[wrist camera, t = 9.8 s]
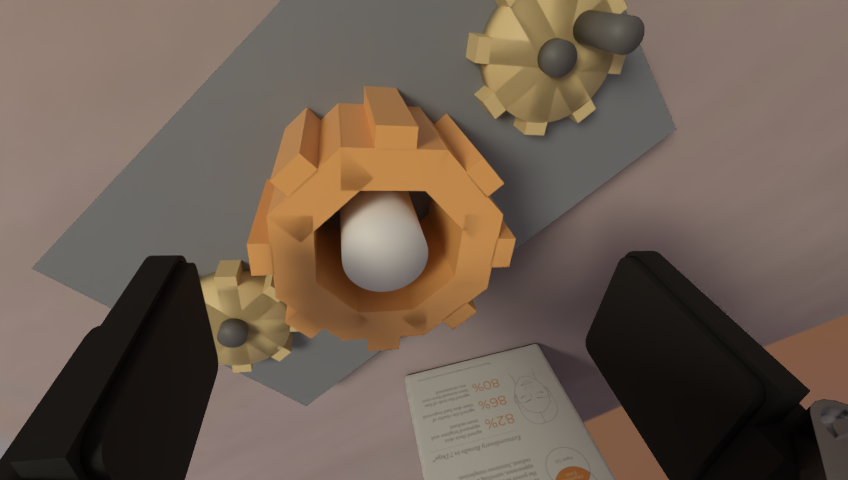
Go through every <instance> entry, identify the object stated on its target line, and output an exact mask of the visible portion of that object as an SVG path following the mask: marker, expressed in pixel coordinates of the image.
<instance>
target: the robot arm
mask: <svg viewBox="0 0 848 480" xmlns="http://www.w3.org/2000/svg"><path fill="white" fill-rule="evenodd" d="M586 348H587V351H588V353H589V354H590V356H591V358H592V359H593V361H594V362H595V364H596V365H597V367H598V369H599V370H600V372H601V373H602V375H603V376H604V378H605V380H606V381H607V383H608V384H609V386H610V387H611V389H612V391H613V392H614V394H615V395H616V397H617V399H618V400H619V402H620V403H621V405H622V406H623V408H624V410H625V411H626V413H627V414H628V416H629V417H630V419H631V420H632V422H633V424H634V425H635V427H636V428H637V430H638V431H639V433H640V435H641V436H642V438H643V439H644V441H645V443H646V444H647V446H648V447H649V449H650V450H651V452H652V453H653V455H654V457H655V458H656V460H657V461H658V463H659V465H660V466H661V468H662V469H663V471H664V472H665V474H666V475H667V477H668V478H669V480H848V404H844V403H841V402H838V401H834V400H826V399H823V400H818V401H815V402H814V403H813V404H812V405H811V406H810V407H809V408H808V409H807V410H805V409H804V408H803V407H802V406H801V405H800V404H799V403H800V401H801V400H802V399H803V398H804V397H805V396H806V395H807V394H808V393H809V392H810V390H809V389H808V388H807V387H806V386H804V385H803V384H802V383H801V382H800V381H799V380H798V379H797V378H796V377H795V376H793V375H792V374H791V373H790V372H789V371H788V370H787V369H786V368H785V367H784V366H782V365H781V364H780V363H779V362H778V361H777V360H776V359H775V358H774V357H773V356H772V355H770V354H769V353H768V352H767V351H766V350H765V349H764V348H763V347H762V346H761V345H759V344H758V343H757V342H756V341H755V340H754V339H753V338H752V337H751V336H750V335H748V334H747V333H746V332H745V331H744V330H743V329H742V328H741V327H740V326H739V325H737V324H736V323H735V322H734V321H733V320H732V319H731V318H730V317H729V316H728V315H726V314H725V313H724V312H723V311H722V310H721V309H720V308H719V307H718V306H717V305H715V304H714V303H713V302H712V301H711V300H710V299H709V298H708V297H707V296H706V295H704V294H703V293H702V292H701V291H700V290H699V289H698V288H697V287H696V286H695V285H693V284H692V283H691V282H690V281H689V280H688V279H687V278H686V277H685V276H684V275H682V274H681V273H680V272H679V271H678V270H677V269H676V268H675V267H674V266H673V265H671V264H670V263H669V262H668V261H667V260H666V259H665V258H664V257H663V256H662V255H660V254H659V253H657V252H655V251H632V252H629V253H628V254H626V256H625V257H624V258H622V259H621V260H620V261H619V263H618V265H617V267H616V270H615V272H614V274H613V277H612V279H611V281H610V284H609V286H608V288H607V291H606V293H605V295H604V298H603V300H602V302H601V304H600V307H599V309H598V311H597V314H596V316H595V318H594V321H593V323H592V325H591V328H590V330H589V332H588V335H587V337H586ZM217 371H218V355H217V351H216V347H215V342H214V338H213V334H212V330H211V325H210V321H209V317H208V313H207V308H206V304H205V300H204V295H203V291H202V287H201V283H200V278H199V274H198V270H197V267H196V265H195V263H187V261H186V259H185V258H184V256H182V255H153V256H148V257H147V258H146V259H145V260H144V261H143V263H142V264H141V266H140V267H139V269H138V270H137V272H136V273H135V275H134V276H133V278H132V279H131V281H130V282H129V284H128V285H127V287H126V288H125V290H124V291H123V293H122V294H121V296H120V297H119V299H118V300H117V302H116V303H115V305H114V306H113V308H112V309H111V311H110V312H109V314H108V315H107V317H106V318H105V320H104V321H103V323H102V324H101V326H97V327H95V328H93V329H92V330H91V331H90V332H89V333H88V334H87V335H86V336H85V338H84V339H83V340H82V342H81V343H80V345H79V346H78V348H77V349H76V351H75V352H74V353H73V355H72V356H71V358H70V359H69V361H68V362H67V364H66V365H65V367H64V368H63V369H62V371H61V372H60V374H59V375H58V377H57V378H56V380H55V381H54V382H53V384H52V385H51V387H50V388H49V390H48V391H47V393H46V394H45V396H44V397H43V398H42V400H41V401H40V403H39V404H38V406H37V407H36V409H35V410H34V412H33V413H32V414H31V416H30V417H29V419H28V420H27V422H26V423H25V425H24V426H23V427H22V429H21V430H20V432H19V433H18V435H17V436H16V438H15V439H14V441H13V442H12V443H11V445H10V446H9V448H8V449H7V451H6V452H5V454H4V455H3V456H2V458H1V459H0V480H185V477H186V474H187V470H188V467H189V464H190V461H191V457H192V454H193V451H194V448H195V444H196V441H197V438H198V434H199V431H200V428H201V425H202V421H203V418H204V415H205V411H206V408H207V405H208V402H209V398H210V395H211V392H212V388H213V385H214V382H215V379H216V375H217Z"/></svg>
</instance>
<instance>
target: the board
mask: <svg viewBox="0 0 848 480" xmlns="http://www.w3.org/2000/svg"><path fill="white" fill-rule="evenodd" d="M625 9H627V6H626V4H625V1H624V0H281V1H280V2H279V3H278V4H277V5H276V7H275V8H274V9H273V10H272V11H271V12H270V13H269V14H268V15H267V16H266V17H265V18H264V19H263V21H262V22H261V23H260V24H259V25H258V26H257V27H256V28H255V29H254V30H253V31H252V32H251V33H250V34H249V36H248V37H247V38H246V39H245V40H244V41H243V42H242V43H241V44H240V45H239V46H238V47H237V48H236V49H235V51H234V52H233V53H232V54H231V55H230V56H229V57H228V58H227V59H226V60H225V61H224V62H223V63H222V64H221V66H220V67H219V68H218V69H217V70H216V71H215V72H214V73H213V74H212V75H211V76H210V77H209V78H208V80H207V81H206V82H205V83H204V84H203V85H202V86H201V87H200V88H199V89H198V90H197V91H196V92H195V93H194V95H193V96H192V97H191V98H190V99H189V100H188V101H187V102H186V103H185V104H184V105H183V106H182V107H181V108H180V110H179V111H178V112H177V113H176V114H175V115H174V116H173V117H172V118H171V119H170V120H169V121H168V122H167V123H166V125H165V126H164V127H163V128H162V129H161V130H160V131H159V132H158V133H157V134H156V135H155V136H154V137H153V138H152V140H151V141H150V142H149V143H148V144H147V145H146V146H145V147H144V148H143V149H142V150H141V151H140V152H139V154H138V155H137V156H136V157H135V158H134V159H133V160H132V161H131V162H130V163H129V164H128V165H127V166H126V167H125V169H124V170H123V171H122V172H121V173H120V174H119V175H118V176H117V177H116V178H115V179H114V180H113V181H112V182H111V184H110V185H109V186H108V187H107V188H106V189H105V190H104V191H103V192H102V193H101V194H100V195H99V196H98V197H97V199H96V200H95V201H94V202H93V203H92V204H91V205H90V206H89V207H88V208H87V209H86V210H85V211H84V213H83V214H82V215H81V216H80V217H79V218H78V219H77V220H76V221H75V222H74V223H73V224H72V225H71V226H70V228H69V229H68V230H67V231H66V232H65V233H64V234H63V235H62V236H61V237H60V238H59V239H58V240H57V241H56V243H55V244H54V245H53V246H52V247H51V248H50V249H49V250H48V251H47V252H46V253H45V254H44V255H43V256H42V258H41V259H40V260H39V261H38V262H37V263H36V264H35V265H34V266H33V267H32V269H34V270H36V271H38V272H40V273H42V274H44V275H46V276H48V277H50V278H52V279H54V280H56V281H58V282H60V283H62V284H64V285H66V286H68V287H70V288H72V289H74V290H76V291H78V292H80V293H82V294H84V295H86V296H88V297H90V298H92V299H94V300H96V301H98V302H100V303H102V304H104V305H106V306H108V307H110V308H113V306H114V305H115V303H116V302H117V300H118V299H119V297H120V296H121V294H122V293H123V291H124V290H125V288H126V287H127V285H128V284H129V282H130V281H131V279H132V278H133V276H134V275H135V273H136V272H137V270H138V269H139V267H140V266H141V264H142V263H143V261H144V260H145V259H146V258H147V257H148V256H153V255H182V256H184V258H185V259H186V261H187V263H195V265H196V267H197V270H198V274H199V278H200V283H201V287H202V291H203V295H204V300H205V304H206V308H207V313H208V317H209V321H210V325H211V330H212V334H213V338H214V342H215V347H216V351H217V355H218V364H223V365H225V366H227V367H229V368H231V369H233V373H238V372H239V373H241V374H243V375H245V376H247V377H249V378H251V379H253V380H255V381H257V382H259V383H261V384H263V385H265V386H267V387H269V388H271V389H273V390H275V391H277V392H279V393H281V394H283V395H285V396H287V397H289V398H291V399H293V400H295V401H297V402H299V403H301V404H303V405H305V406H307V405H308V404H310V403H311V402H312V401H314V400H315V399H316V398H318V397H319V396H321V395H322V394H323V393H325V392H326V391H327V390H329V389H330V388H331V387H333V386H334V385H335V384H337V383H338V382H339V381H341V380H342V379H343V378H345V377H346V376H347V375H349V374H350V373H351V372H353V371H354V370H355V369H357V368H358V367H359V366H361V365H362V364H363V363H365V362H366V361H367V360H369V359H370V358H371V357H373V356H374V355H375V354H377V353H378V352H379V351H381V350H379V351H368V346H367V339H359V340H344V341H342V340H341V339H340V338H338V337H337V336H335V335H333V334H332V333H330V332H329V331H327V330H326V329H323V330H321V331H320V332H319V333H318V334H316V335H315V336H314V337H313V338H309V337H307V336H306V335H304V334H302V333H301V332H299V331H298V330H296V329H294V328H293V327H291V326H289V325H288V324H286V323H285V317H286V310H287V305H286V304H285V303H283V302H282V301H280V300H279V299H277V298H275V297H276V295H275V286H274V277H273V275H260V276H251V270H250V263H249V257H248V250H247V241H248V238H249V235H250V231H251V228H252V225H253V222H254V218H255V215H256V212H257V209H258V205H259V202H260V199H261V196H262V192H263V189H264V186H265V183H266V179H271V175H272V172H273V168H274V165H275V161H276V158H277V155H278V151H279V148H280V144H281V141H282V137H283V134H284V130H285V128H286V127H287V126H288V125H289V124H290V123H291V122H292V121H293V120H294V119H295V118H296V117H297V116H298V115H299V114H300V113H302V112H303V111H304V110H305V109H306V108H307V107H308V108H309V109H310V110H311V111H312V112H313V113H314V114H315V115H316V116H317V117H318V118H319V119H320V120H321V119H322V118H323V117H324V116H325V115H326V114H327V113H328V112H329V111H330V110H332V109H333V108H334V107H335V106H336V105H337V104H338V103H349V104H364V86H372V87H389V88H397V90H398V92H399V94H400V95H401V97H402V99H403V101H404V102H405V104H406V106H411V107H420V108H421V110H422V111H423V112H424V113H425V114H426V116H427V117H428V118H429V119H430V120H431V122H432V123H433V124H435V123H436V122H437V121H439V120H440V119H441V118H442V117H443V116H444V115H445V114H446V113H447V114H448V115H449V117H450V118H451V119H452V120H453V121H454V123H455V124H456V125H457V126H458V127H459V129H460V130H461V131H462V132H463V134H464V135H465V136H466V137H467V138H468V140H469V141H470V142H471V143H472V144H473V146H474V147H475V148H476V149H477V150H478V152H479V153H480V154H481V155H482V156H483V158H484V159H485V160H486V161H487V163H488V164H489V165H490V166H491V168H492V169H493V170H494V171H495V173H496V174H497V175H498V176H499V178H500V179H501V180H502V181H503V183H504V184H503V185H502V186H501V187H499V188H498V189H497V190H496V191H494V192H493V193H492V194H491V195H490V196H491V198H492V199H493V201H494V202H495V203H496V205H497V206H498V208H499V209H500V210H501V212H502V213H503V219H502V220H503V221H504V222H505V224H506V225H507V227H508V228H509V230H510V231H511V232H512V234H513V235H514V237H515V238H516V240H515V245H514V249H513V251H514V250H516V249H517V248H518V247H520V246H521V245H522V244H524V243H525V242H526V241H528V240H529V239H530V238H532V237H533V236H534V235H536V234H537V233H538V232H540V231H541V230H542V229H544V228H545V227H546V226H548V225H549V224H550V223H552V222H553V221H554V220H556V219H557V218H558V217H560V216H561V215H562V214H564V213H565V212H566V211H568V210H569V209H570V208H572V207H573V206H574V205H576V204H577V203H578V202H580V201H581V200H582V199H584V198H585V197H586V196H588V195H589V194H590V193H592V192H593V191H594V190H596V189H597V188H598V187H600V186H601V185H602V184H604V183H605V182H606V181H608V180H609V179H610V178H612V177H613V176H614V175H616V174H617V173H618V172H620V171H621V170H622V169H624V168H625V167H626V166H628V165H629V164H630V163H632V162H633V161H635V160H636V159H637V158H639V157H640V156H641V155H643V154H644V153H645V152H647V151H648V150H649V149H651V148H652V147H653V146H655V145H656V144H657V143H659V142H660V141H661V140H663V139H664V138H665V137H667V136H668V135H669V134H671V133H672V132H673V131H675V130H676V128H675V125H674V123H673V121H672V118H671V116H670V114H669V111H668V109H667V106H666V104H665V102H664V99H663V97H662V95H661V92H660V90H659V88H658V85H657V83H656V81H655V78H654V76H653V74H652V71H651V69H650V67H649V64H648V62H647V60H646V57H645V55H644V53H643V50H642V48H641V46H640V43H641V41H642V39H643V36H644V24H643V22H642V20H641V19H640V18H639V17H636V16H631V15H627V13H626V10H625ZM430 197H431V196H430V195H429V194H428V193H427V192H426V191H359V192H358V193H357V194H356V195H355V196H354V197H352V198H351V199H350V200H349V201H348V202H347V203H346V204H344V205H343V206H342V207H341V208H340V209H339V210H338V211H337V212H335V213H334V214H333V215H332V216H331V217H330V218H329V219H327V221H328V222H329V223H331V224H332V225H333V226H334V227H335V228H337V229H338V230H339V231H340V232H341V253H342V265H343V269H344V271H345V273H346V275H347V276H348V278H349V279H350V280H351V281H352V282H353V283H355V284H356V285H358V286H359V287H361V288H364V289H367V290H370V291H376V292H388V291H394V290H397V289H400V288H403V287H405V286H407V285H408V284H410V283H411V282H413V281H414V280H415V279H416V278H418V276H419V275H420V274H421V273H422V271H423V270H424V268H425V266H426V263H427V260H428V247H427V243H426V240H425V237H424V235H423V232H422V229H421V226H420V223H419V221H420V220H421V219H423V218H424V217H425V216H426V215H428V214H429V206H430Z"/></svg>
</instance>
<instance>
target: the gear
mask: <svg viewBox="0 0 848 480" xmlns="http://www.w3.org/2000/svg"><path fill="white" fill-rule="evenodd" d="M503 184H504V183H503V181H502V180H501V179H500V178H499V176H498V175H497V174H496V173H495V171H494V170H493V169H492V168H491V166H490V165H489V164H488V163H487V161H486V160H485V159H484V158H483V156H482V155H481V154H480V153H479V152H478V150H477V149H476V148H475V147H474V146H473V144H472V143H471V142H470V141H469V140H468V138H467V137H466V136H465V135H464V134H463V132H462V131H461V130H460V129H459V127H458V126H457V125H456V124H455V123H454V121H453V120H452V119H451V118H450V117H449V115H448V114H447V113H446V114H445V115H444V116H443V117H442V118H441V119H440V120H439V121H437V122H436V123H435V124H433V123H432V122H431V120H430V119H429V118H428V117H427V116H426V114H425V113H424V112H423V111H422V110H421V108H420V107H411V106H406V104H405V102H404V101H403V99H402V97H401V95H400V94H399V92H398V90H397V88H389V87H372V86H364V104H349V103H338V104H337V105H336V106H335V107H334V108H333V109H332V110H330V111H329V112H328V113H327V114H326V115H325V116H324V117H323V118H322V119H321V120H320V119H319V118H318V117H317V116H316V115H315V114H314V113H313V112H312V111H311V110H310V109H309V108H308V107H307V108H306V109H305V110H304V111H303V112H302V113H300V114H299V115H298V116H297V117H296V118H295V119H294V120H293V121H292V122H291V123H290V124H289V125H288V126H287V127H286V128H285V130H284V134H283V137H282V141H281V144H280V148H279V151H278V155H277V158H276V161H275V165H274V168H273V172H272V175H271V179H266V183H265V186H264V189H263V192H262V196H261V199H260V202H259V205H258V209H257V212H256V215H255V218H254V222H253V225H252V228H251V231H250V235H249V238H248V241H247V250H248V257H249V263H250V270H251V276H260V275H273V277H274V286H275V295H276V297H275V298H277V299H279V300H280V301H282V302H283V303H285V304H286V305H287V310H286V317H285V323H286V324H288V325H289V326H291V327H293V328H294V329H296V330H298V331H299V332H301V333H302V334H304V335H306V336H307V337H309V338H313V337H314V336H315V335H316V334H318V333H319V332H320V331H321V330H323V329H326V330H327V331H329V332H330V333H332V334H333V335H335V336H337V337H338V338H340V339H341V340H342V341H344V340H359V339H367V346H368V351H379V350H392V349H399V343H400V337H403V336H418V335H425V334H426V333H428V332H429V331H430V330H432V329H433V328H434V327H436V326H437V325H438V324H440V323H441V322H442V321H443V322H444V323H446V324H447V325H448V326H449V327H451V328H452V329H454V328H456V327H457V326H458V325H460V324H461V323H462V322H464V321H465V320H467V319H468V318H469V317H471V316H472V315H473V314H475V313H476V312H477V310H476V308H475V305H474V303H473V301H472V299H473V298H475V297H476V296H477V295H479V294H480V293H481V292H483V291H484V290H485V289H487V287H488V282H489V278H490V273H491V269H492V267H509V265H510V261H511V257H512V253H513V249H514V245H515V240H516V238H515V237H514V235H513V234H512V232H511V231H510V230H509V228H508V227H507V225H506V224H505V222H504V221H503V220H502V219H503V213H502V212H501V210H500V209H499V208H498V206H497V205H496V203H495V202H494V201H493V199H492V198H491V196H490V195H491V194H492V193H493V192H494V191H496V190H497V189H498V188H499V187H501V186H502V185H503ZM359 191H426V192H427V193H428V194H429V195H430V196H431V197H430V206H429V214H428V215H426V216H425V217H424V218H423V219H421V220H420V221H419V223H420V226H421V229H422V232H423V235H424V237H425V240H426V243H427V247H428V260H427V263H426V266H425V268H424V270H423V271H422V273H421V274H420V275H419V276H418V278H416V279H415V280H414V281H413V282H411V283H410V284H408V285H407V286H405V287H403V288H400V289H397V290H394V291H388V292H376V291H370V290H367V289H364V288H361V287H359V286H358V285H356V284H355V283H353V282H352V281H351V280H350V279H349V278H348V276H347V275H346V273H345V271H344V269H343V265H342V253H341V232H340V231H339V230H338V229H337V228H335V227H334V226H333V225H332V224H331V223H329V222H328V221H327V219H329V218H330V217H331V216H332V215H333V214H334V213H335V212H337V211H338V210H339V209H340V208H341V207H342V206H343V205H344V204H346V203H347V202H348V201H349V200H350V199H351V198H352V197H354V196H355V195H356V194H357V193H358V192H359Z"/></svg>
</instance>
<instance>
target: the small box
mask: <svg viewBox="0 0 848 480" xmlns="http://www.w3.org/2000/svg"><path fill="white" fill-rule="evenodd" d="M405 384H406V389H407V394H408V400H409V405H410V410H411V415H412V421H413V426H414V431H415V436H416V441H417V446H418V452H419V457H420V462H421V467H422V472H423V477H424V480H616V479H615V477H614V475H613V474H612V472H611V470H610V468H609V467H608V465H607V463H606V461H605V460H604V458H603V456H602V454H601V453H600V451H599V449H598V447H597V446H596V444H595V442H594V440H593V439H592V437H591V435H590V433H589V432H588V430H587V428H586V427H585V425H584V423H583V421H582V420H581V418H580V416H579V414H578V413H577V411H576V409H575V407H574V406H573V404H572V402H571V401H570V399H569V397H568V396H567V394H566V392H565V390H564V389H563V387H562V385H561V383H560V382H559V380H558V378H557V377H556V375H555V373H554V371H553V370H552V368H551V366H550V365H549V363H548V361H547V359H546V358H545V356H544V354H543V352H542V351H541V349H540V347H539V345H537V344H532V345H528V346H524V347H520V348H516V349H512V350H508V351H504V352H500V353H496V354H492V355H488V356H484V357H480V358H475V359H471V360H467V361H463V362H459V363H455V364H451V365H447V366H443V367H439V368H435V369H431V370H427V371H423V372H419V373H415V374H411V375H407V376H406V377H405Z"/></svg>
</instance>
